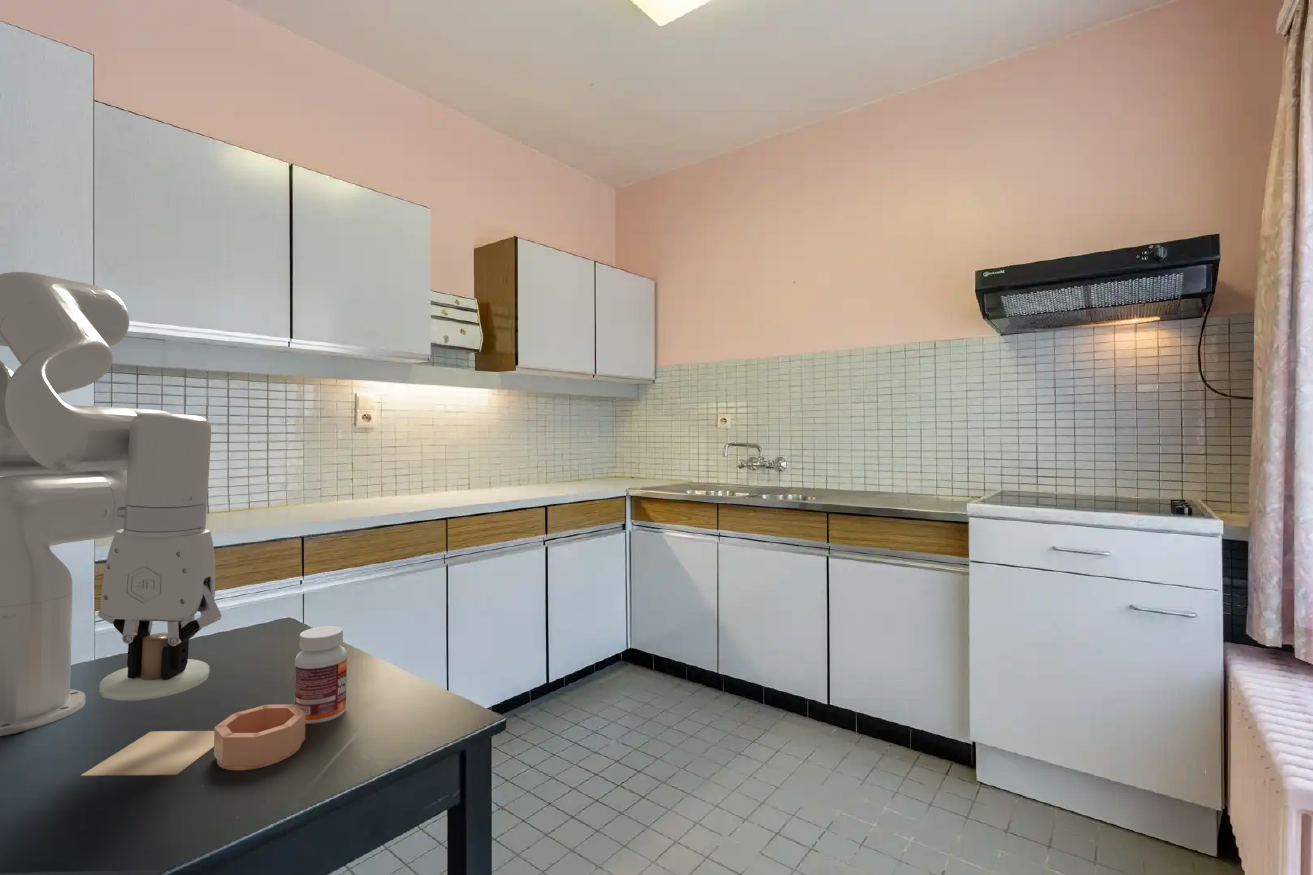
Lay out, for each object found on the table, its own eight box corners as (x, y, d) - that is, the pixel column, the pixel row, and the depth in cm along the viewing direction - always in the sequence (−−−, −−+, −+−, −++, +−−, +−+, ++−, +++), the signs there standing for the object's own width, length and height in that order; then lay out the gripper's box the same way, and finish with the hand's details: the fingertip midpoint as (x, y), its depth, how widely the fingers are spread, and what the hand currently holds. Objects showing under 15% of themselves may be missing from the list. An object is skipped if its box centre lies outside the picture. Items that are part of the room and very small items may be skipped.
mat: (80, 778, 67) (80, 775, 67) (150, 734, 77) (150, 731, 77) (176, 777, 67) (177, 774, 67) (234, 733, 77) (234, 730, 77)
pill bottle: (348, 719, 82) (350, 634, 82) (295, 730, 78) (296, 641, 78) (342, 702, 87) (344, 622, 87) (292, 712, 84) (294, 628, 84)
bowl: (198, 773, 68) (199, 737, 68) (245, 736, 77) (245, 704, 77) (277, 772, 69) (278, 736, 69) (314, 736, 77) (315, 704, 77)
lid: (74, 698, 67) (77, 650, 67) (145, 663, 77) (147, 621, 77) (169, 702, 68) (172, 654, 68) (227, 667, 78) (230, 625, 78)
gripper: (64, 519, 68) (54, 684, 68) (217, 528, 69) (207, 691, 69) (119, 510, 75) (110, 659, 76) (257, 518, 76) (248, 665, 77)
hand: (157, 672), depth 72 cm, fingers closed on lid, 3 cm apart
